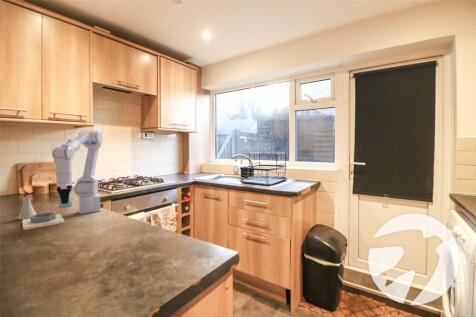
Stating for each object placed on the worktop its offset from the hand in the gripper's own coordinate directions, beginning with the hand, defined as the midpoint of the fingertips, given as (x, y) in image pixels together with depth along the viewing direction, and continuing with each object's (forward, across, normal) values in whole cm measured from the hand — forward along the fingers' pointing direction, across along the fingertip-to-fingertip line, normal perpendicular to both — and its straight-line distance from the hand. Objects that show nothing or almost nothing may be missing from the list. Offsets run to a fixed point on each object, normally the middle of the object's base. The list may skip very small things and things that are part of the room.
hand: (65, 202), depth 111 cm
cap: (+2, 0, 0) cm, 2 cm away
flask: (+9, +18, +16) cm, 26 cm away
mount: (+9, +4, +9) cm, 13 cm away
